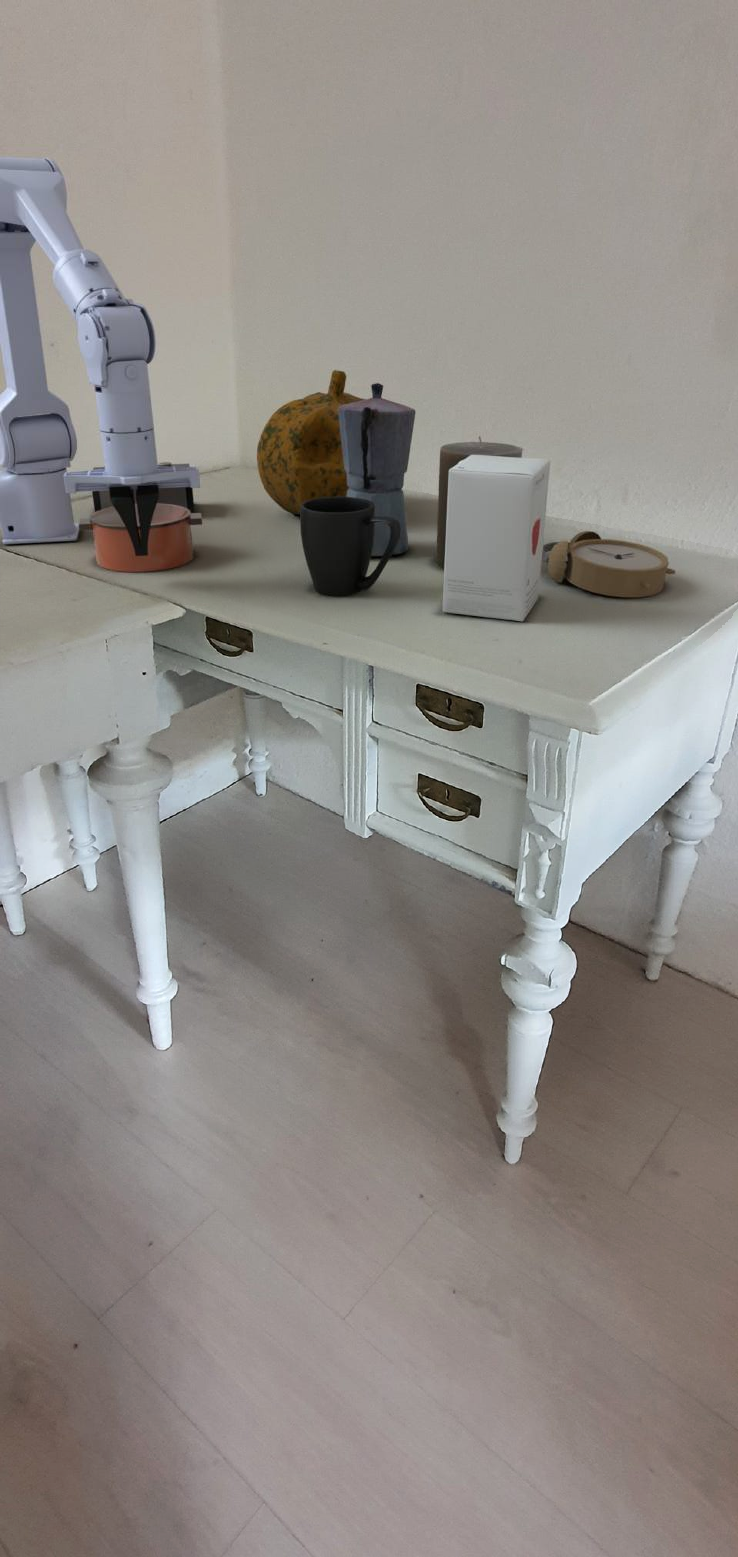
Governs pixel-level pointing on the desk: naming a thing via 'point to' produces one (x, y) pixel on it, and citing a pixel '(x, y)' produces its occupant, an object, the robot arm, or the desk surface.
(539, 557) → the rectangular carton
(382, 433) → the moka pot
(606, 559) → the alarm clock
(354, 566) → the mug
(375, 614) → the desk surface
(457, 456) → the pillar candle
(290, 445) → the decorative pumpkin
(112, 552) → the saucepan
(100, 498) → the appliance
